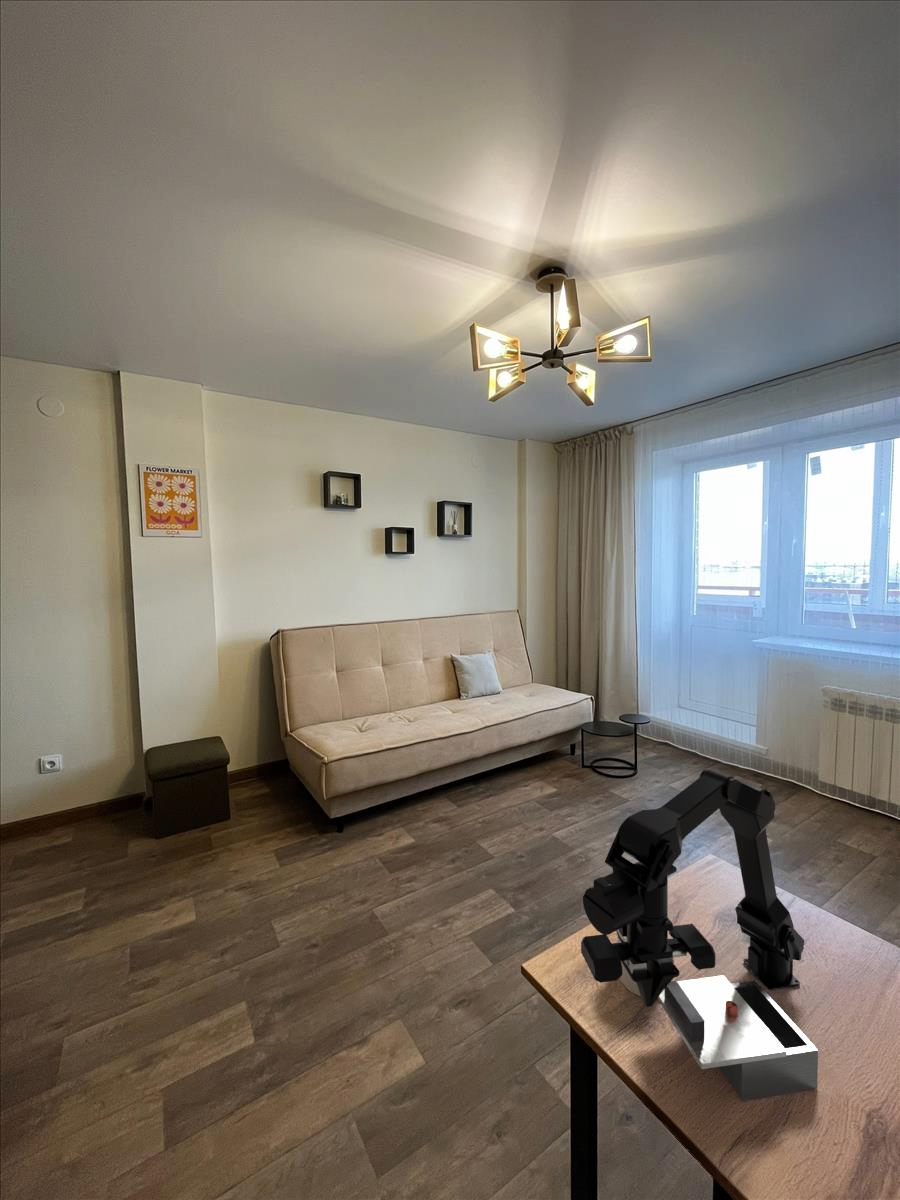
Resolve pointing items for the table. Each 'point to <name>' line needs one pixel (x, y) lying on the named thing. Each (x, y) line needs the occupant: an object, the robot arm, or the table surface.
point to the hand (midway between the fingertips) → (647, 1004)
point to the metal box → (778, 1072)
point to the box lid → (718, 1023)
